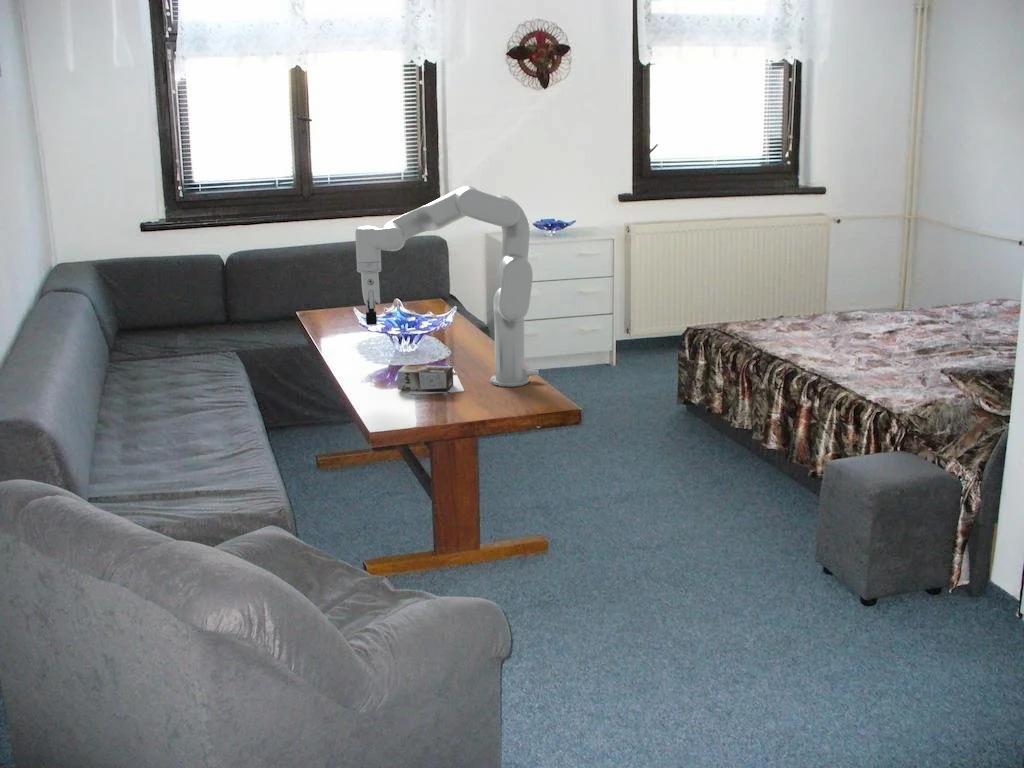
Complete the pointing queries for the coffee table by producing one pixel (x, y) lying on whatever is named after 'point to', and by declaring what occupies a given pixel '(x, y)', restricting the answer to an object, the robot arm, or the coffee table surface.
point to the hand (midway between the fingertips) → (371, 324)
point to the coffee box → (425, 378)
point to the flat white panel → (455, 388)
